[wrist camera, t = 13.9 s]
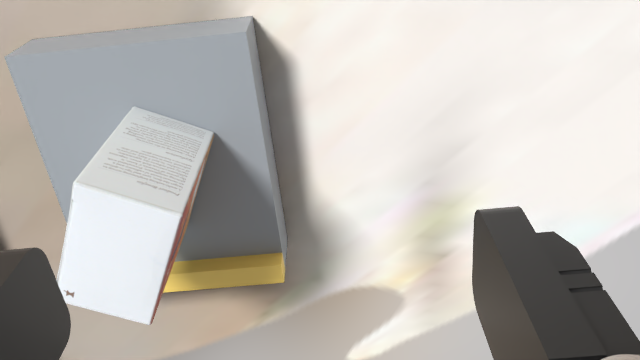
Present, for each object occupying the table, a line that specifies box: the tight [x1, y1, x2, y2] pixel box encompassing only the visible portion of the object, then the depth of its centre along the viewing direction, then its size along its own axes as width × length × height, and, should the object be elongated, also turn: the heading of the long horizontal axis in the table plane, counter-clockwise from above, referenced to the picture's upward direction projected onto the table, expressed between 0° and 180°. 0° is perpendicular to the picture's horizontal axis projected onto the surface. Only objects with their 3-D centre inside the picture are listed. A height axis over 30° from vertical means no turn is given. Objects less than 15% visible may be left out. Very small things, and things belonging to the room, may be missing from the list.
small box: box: [56, 107, 214, 325], centre depth 35 cm, size 8×6×10 cm
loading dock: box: [5, 16, 288, 293], centre depth 41 cm, size 18×15×6 cm
